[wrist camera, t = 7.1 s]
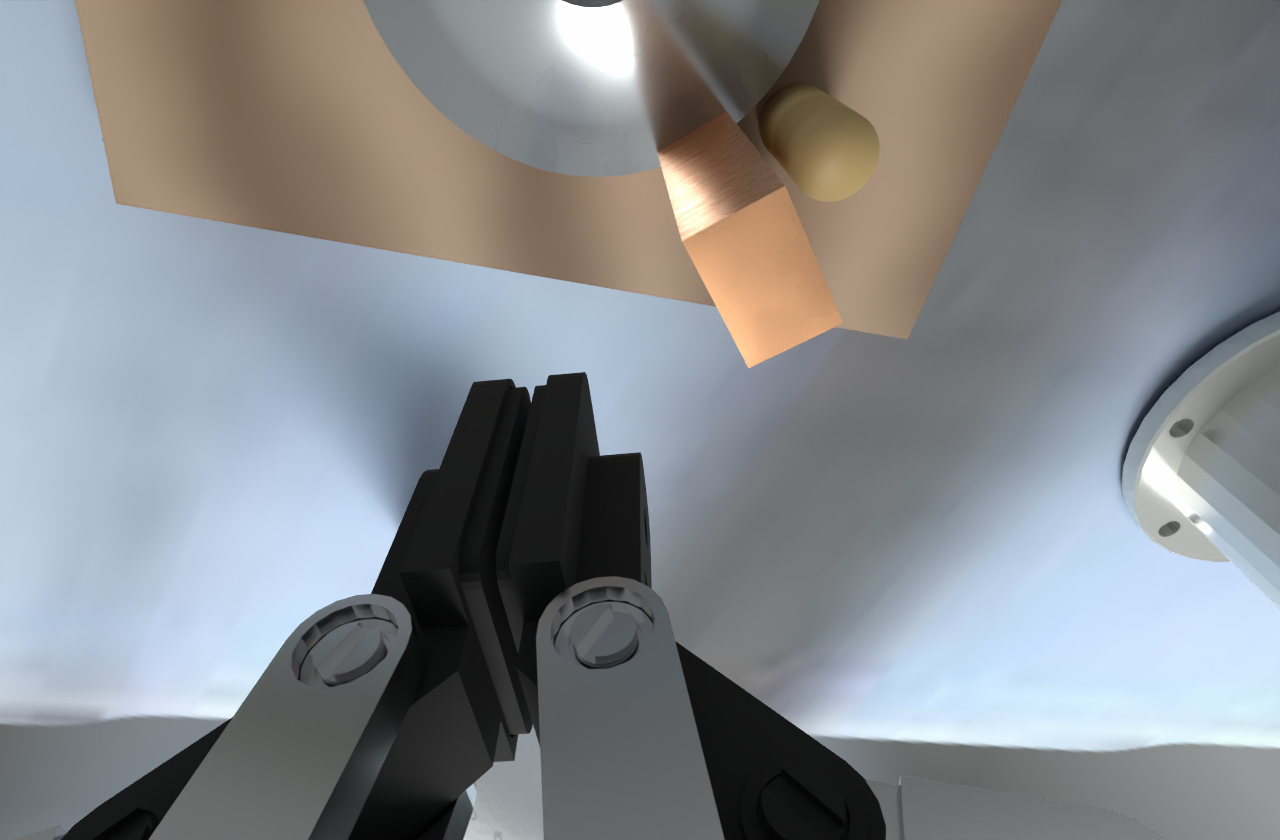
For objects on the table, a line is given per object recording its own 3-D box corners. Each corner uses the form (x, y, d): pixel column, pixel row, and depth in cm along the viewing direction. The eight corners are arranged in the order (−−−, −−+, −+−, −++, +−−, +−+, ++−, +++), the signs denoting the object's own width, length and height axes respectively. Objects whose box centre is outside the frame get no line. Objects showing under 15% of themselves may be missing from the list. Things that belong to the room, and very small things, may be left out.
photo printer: (601, 637, 34) (601, 937, 24) (526, 667, 35) (494, 967, 25) (473, 494, 29) (402, 798, 18) (389, 534, 30) (276, 844, 19)
